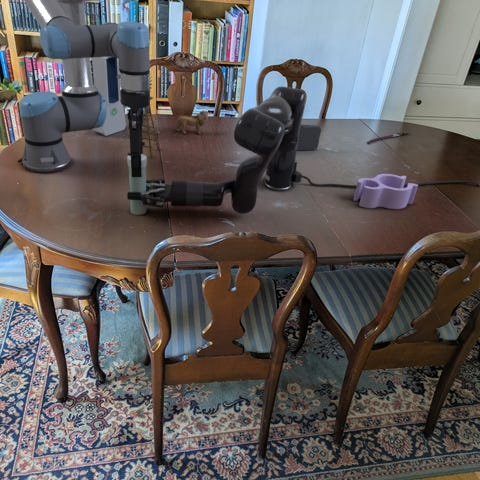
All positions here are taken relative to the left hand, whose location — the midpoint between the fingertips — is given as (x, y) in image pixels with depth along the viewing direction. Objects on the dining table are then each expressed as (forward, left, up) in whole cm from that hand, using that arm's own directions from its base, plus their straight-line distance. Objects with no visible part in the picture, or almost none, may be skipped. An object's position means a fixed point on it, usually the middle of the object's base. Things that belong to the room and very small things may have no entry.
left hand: (137, 171), depth 132 cm
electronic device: (-31, +59, -13) cm, 68 cm away
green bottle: (0, 0, -13) cm, 13 cm away
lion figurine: (+1, +70, -13) cm, 72 cm away
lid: (0, 0, +4) cm, 4 cm away
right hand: (-3, -1, -6) cm, 7 cm away
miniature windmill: (-11, +43, -13) cm, 47 cm away
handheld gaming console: (+44, +65, -13) cm, 80 cm away
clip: (+76, +29, -13) cm, 82 cm away
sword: (+88, +95, -13) cm, 130 cm away
